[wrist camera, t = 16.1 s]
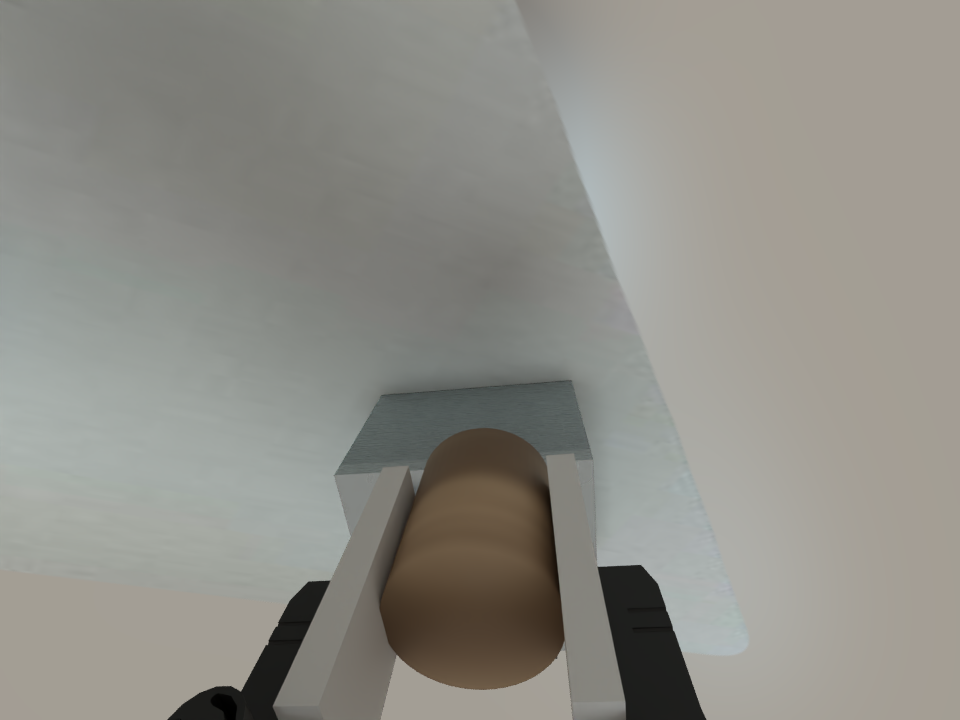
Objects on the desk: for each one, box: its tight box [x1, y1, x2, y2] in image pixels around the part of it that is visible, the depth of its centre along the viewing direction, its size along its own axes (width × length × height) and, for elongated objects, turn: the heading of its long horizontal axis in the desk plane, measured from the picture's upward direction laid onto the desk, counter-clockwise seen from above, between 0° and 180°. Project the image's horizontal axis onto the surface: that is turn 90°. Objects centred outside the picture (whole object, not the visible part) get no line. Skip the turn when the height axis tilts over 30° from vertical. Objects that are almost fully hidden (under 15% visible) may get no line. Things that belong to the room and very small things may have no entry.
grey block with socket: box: [334, 381, 597, 659], centre depth 31 cm, size 14×14×12 cm
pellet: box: [380, 428, 565, 690], centre depth 12 cm, size 4×4×5 cm
